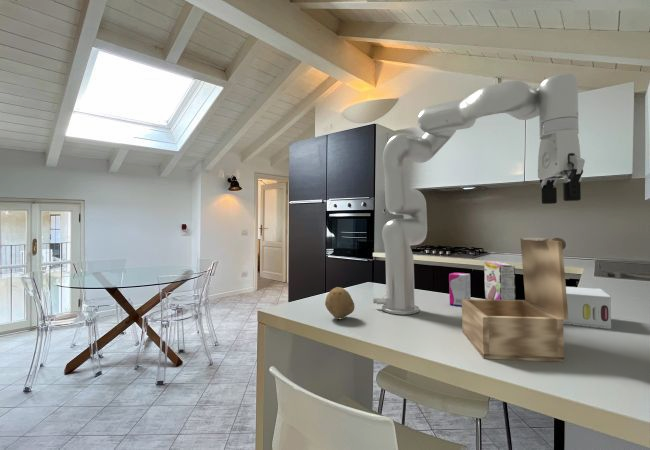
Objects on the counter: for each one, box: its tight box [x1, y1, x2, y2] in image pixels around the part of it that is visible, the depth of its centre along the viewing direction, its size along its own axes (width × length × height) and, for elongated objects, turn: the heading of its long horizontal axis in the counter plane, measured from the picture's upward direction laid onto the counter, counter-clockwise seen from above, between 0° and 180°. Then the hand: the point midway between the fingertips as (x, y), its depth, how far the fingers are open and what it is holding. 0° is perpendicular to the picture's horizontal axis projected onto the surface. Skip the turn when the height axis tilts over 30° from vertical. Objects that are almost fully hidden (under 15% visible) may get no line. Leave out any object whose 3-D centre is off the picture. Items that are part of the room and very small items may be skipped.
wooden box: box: [461, 298, 565, 363], centre depth 79 cm, size 16×18×9 cm
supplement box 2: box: [538, 286, 612, 330], centre depth 100 cm, size 17×13×9 cm
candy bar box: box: [483, 260, 516, 300], centre depth 109 cm, size 11×5×16 cm, turn 179°
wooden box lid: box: [519, 237, 569, 319], centre depth 78 cm, size 17×18×8 cm
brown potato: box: [324, 286, 355, 319], centre depth 105 cm, size 9×9×10 cm
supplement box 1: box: [448, 272, 472, 308], centre depth 120 cm, size 6×6×12 cm
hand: (559, 202), depth 78 cm, fingers open, 9 cm apart
